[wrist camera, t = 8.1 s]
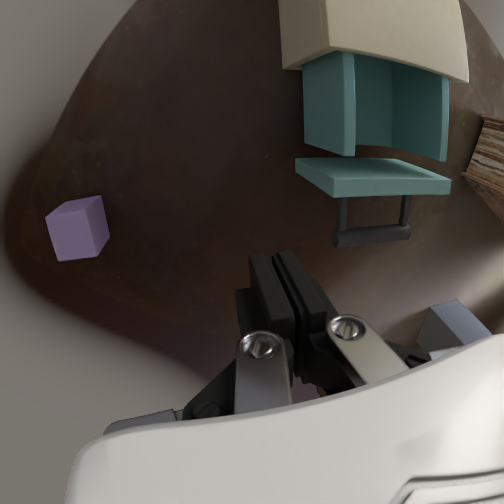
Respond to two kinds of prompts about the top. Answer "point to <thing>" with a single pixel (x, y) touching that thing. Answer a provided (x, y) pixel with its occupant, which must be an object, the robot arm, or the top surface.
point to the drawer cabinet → (376, 32)
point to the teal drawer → (373, 134)
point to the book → (489, 165)
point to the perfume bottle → (450, 327)
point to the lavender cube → (78, 228)
